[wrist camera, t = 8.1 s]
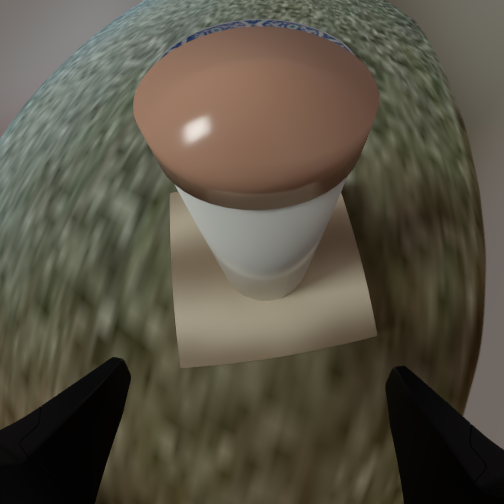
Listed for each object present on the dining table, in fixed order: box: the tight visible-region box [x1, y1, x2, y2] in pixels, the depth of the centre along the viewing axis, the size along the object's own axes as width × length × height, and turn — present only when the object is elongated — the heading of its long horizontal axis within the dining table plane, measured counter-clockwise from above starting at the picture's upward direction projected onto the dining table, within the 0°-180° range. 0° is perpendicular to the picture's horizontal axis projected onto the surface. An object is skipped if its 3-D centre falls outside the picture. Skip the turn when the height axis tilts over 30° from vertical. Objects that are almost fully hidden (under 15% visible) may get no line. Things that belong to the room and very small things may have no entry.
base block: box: [170, 192, 377, 368], centre depth 19 cm, size 12×12×3 cm
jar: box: [133, 26, 379, 301], centre depth 11 cm, size 5×5×13 cm
